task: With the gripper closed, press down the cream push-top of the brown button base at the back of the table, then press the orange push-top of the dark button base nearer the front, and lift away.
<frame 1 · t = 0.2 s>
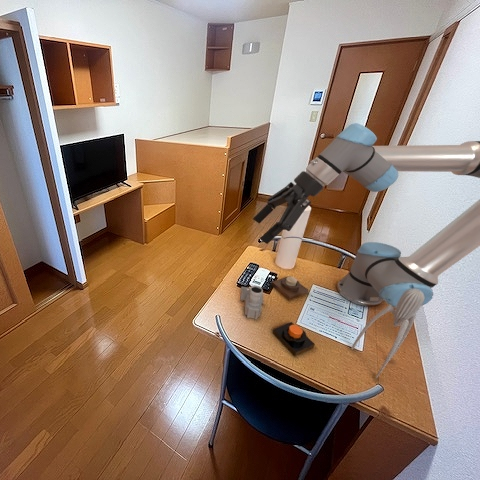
hand: (259, 230, 83), 35 cm above the table, tool tilted 35°, fingers open, 13 cm apart
container: (284, 263, 126), on the table
dark button base: (292, 340, 89), on the table
orange button: (295, 331, 86), point 5 cm above the table, slide at 0.1 cm
brown button base: (288, 289, 110), on the table
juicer: (376, 361, 81), on the table
cream button: (291, 281, 108), point 5 cm above the table, slide at 0.1 cm
grey pipe fitting: (251, 305, 103), on the table
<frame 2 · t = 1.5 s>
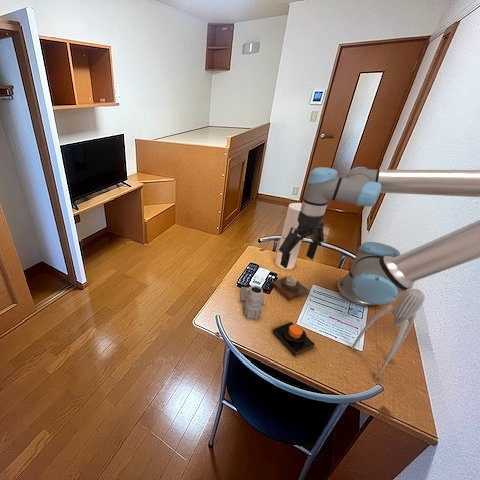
hand: (296, 261, 102), 15 cm above the table, tool pointing down, fingers open, 13 cm apart
nothing on the table moved.
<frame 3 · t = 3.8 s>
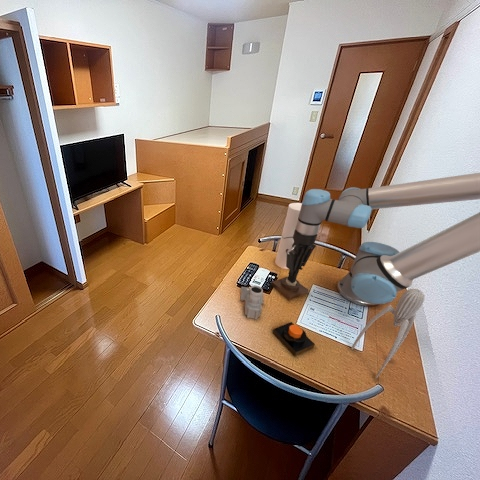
hand: (291, 280, 107), 5 cm above the table, tool pointing down, fingers closed
cream button: (290, 283, 108), point 4 cm above the table, slide at -0.9 cm, touching gripper
everything else where it was.
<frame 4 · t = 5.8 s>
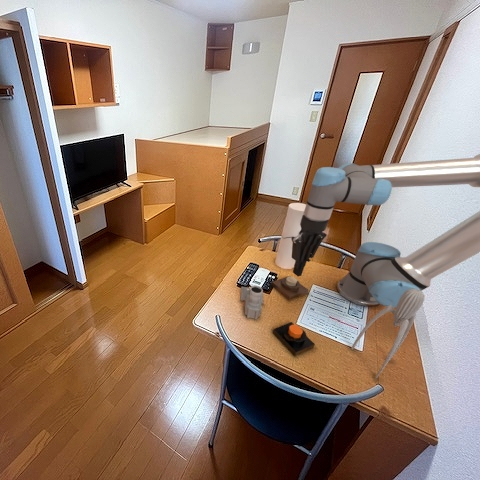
hand: (296, 273, 96), 15 cm above the table, tool pointing down, fingers closed
cream button: (291, 281, 108), point 5 cm above the table, slide at 0.1 cm
everything else where it was.
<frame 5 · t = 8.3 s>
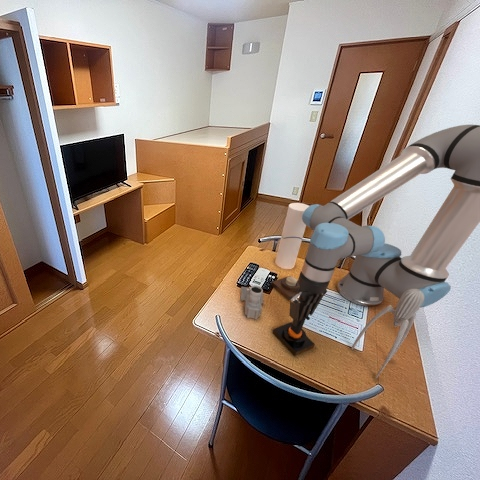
hand: (295, 330, 86), 5 cm above the table, tool pointing down, fingers closed
orange button: (294, 333, 87), point 4 cm above the table, slide at -0.8 cm, touching gripper
everything else where it was.
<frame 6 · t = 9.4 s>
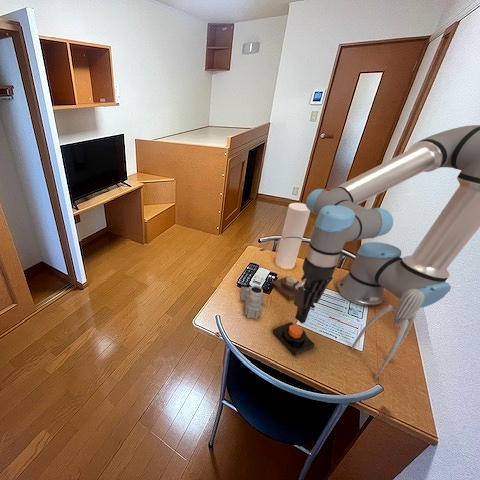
hand: (300, 319, 83), 10 cm above the table, tool pointing down, fingers closed
orange button: (295, 331, 86), point 5 cm above the table, slide at 0.1 cm
everything else where it was.
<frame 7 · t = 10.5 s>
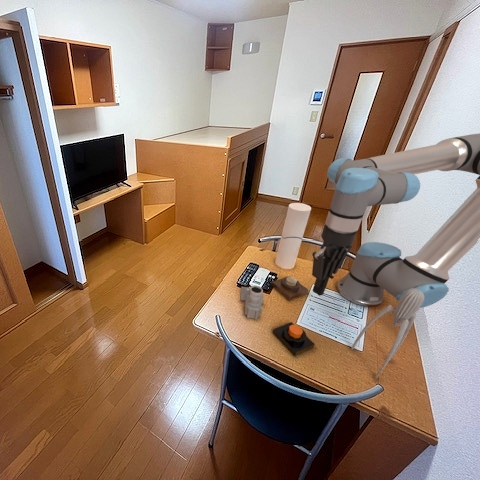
hand: (317, 292, 82), 18 cm above the table, tool pointing down, fingers closed
nothing on the table moved.
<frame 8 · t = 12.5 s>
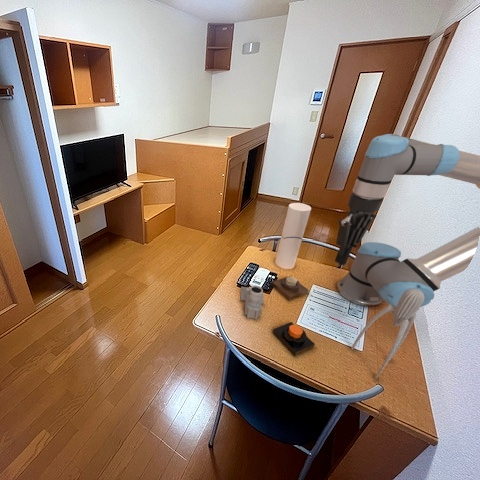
hand: (340, 262, 85), 24 cm above the table, tool pointing down, fingers closed
nothing on the table moved.
at the end: cream button pushed in 1.0 cm at the most during the clip, back to where it started at the end; orange button pushed in 1.0 cm at the most during the clip, back to where it started at the end; orange button slide at 0.1 cm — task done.
